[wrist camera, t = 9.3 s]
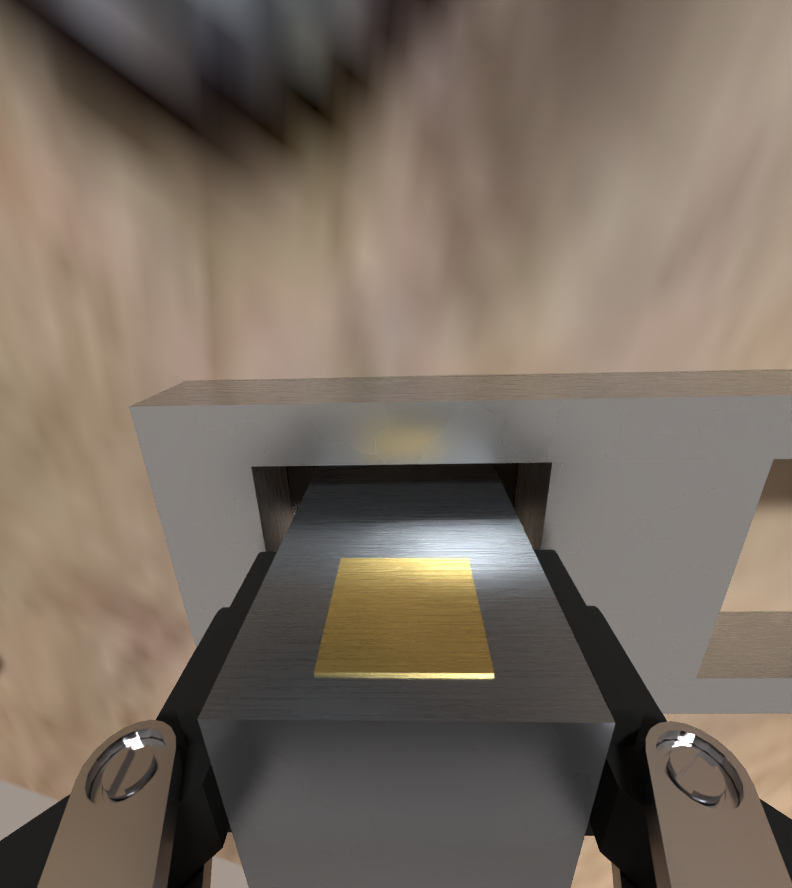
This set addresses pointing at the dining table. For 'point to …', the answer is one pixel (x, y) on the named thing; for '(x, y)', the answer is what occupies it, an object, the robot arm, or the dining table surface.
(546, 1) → the dining table surface
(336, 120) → the dining table surface
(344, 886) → the block
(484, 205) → the dining table surface
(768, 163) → the dining table surface
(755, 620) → the rail
